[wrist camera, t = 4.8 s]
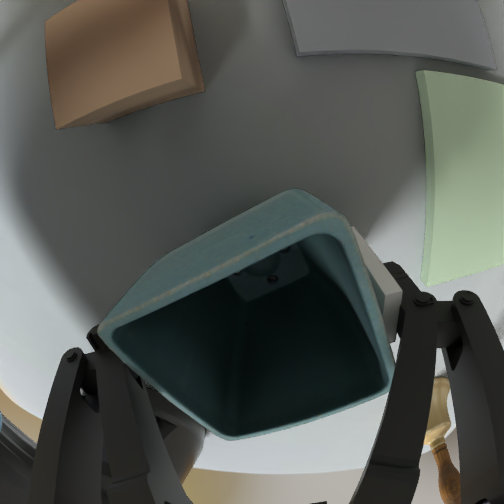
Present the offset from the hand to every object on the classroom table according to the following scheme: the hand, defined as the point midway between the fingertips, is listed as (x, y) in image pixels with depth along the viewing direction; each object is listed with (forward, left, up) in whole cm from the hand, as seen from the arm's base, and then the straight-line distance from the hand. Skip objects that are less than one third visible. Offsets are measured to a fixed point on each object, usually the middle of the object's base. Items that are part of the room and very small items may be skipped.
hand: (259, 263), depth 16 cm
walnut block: (+13, +4, -1) cm, 14 cm away
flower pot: (0, 0, -1) cm, 1 cm away
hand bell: (-22, -15, -1) cm, 27 cm away
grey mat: (+18, -11, -1) cm, 21 cm away
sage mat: (+3, -18, -1) cm, 18 cm away
